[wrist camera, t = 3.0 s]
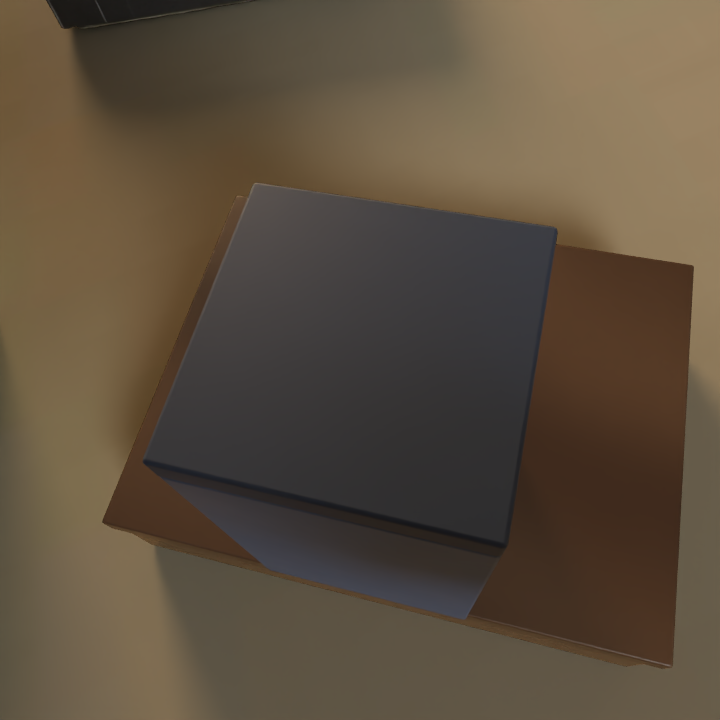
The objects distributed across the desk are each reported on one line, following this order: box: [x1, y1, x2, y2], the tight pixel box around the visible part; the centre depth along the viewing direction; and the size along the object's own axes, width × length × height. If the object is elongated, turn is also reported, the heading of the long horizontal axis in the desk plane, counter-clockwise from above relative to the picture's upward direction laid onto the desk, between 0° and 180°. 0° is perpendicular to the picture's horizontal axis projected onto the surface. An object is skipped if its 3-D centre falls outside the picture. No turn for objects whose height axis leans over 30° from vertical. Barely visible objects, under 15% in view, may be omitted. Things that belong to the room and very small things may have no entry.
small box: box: [143, 183, 558, 619], centre depth 13 cm, size 5×5×8 cm
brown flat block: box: [102, 195, 694, 669], centre depth 19 cm, size 10×13×3 cm
